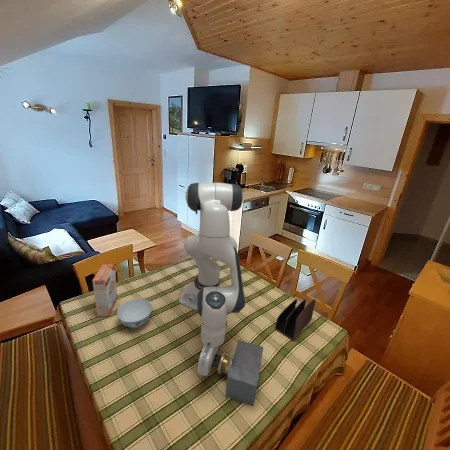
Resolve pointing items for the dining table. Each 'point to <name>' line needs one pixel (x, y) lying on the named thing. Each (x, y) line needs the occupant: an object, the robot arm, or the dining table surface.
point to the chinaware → (134, 312)
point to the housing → (244, 372)
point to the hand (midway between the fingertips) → (211, 361)
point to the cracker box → (105, 290)
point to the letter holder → (294, 318)
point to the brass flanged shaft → (222, 363)
